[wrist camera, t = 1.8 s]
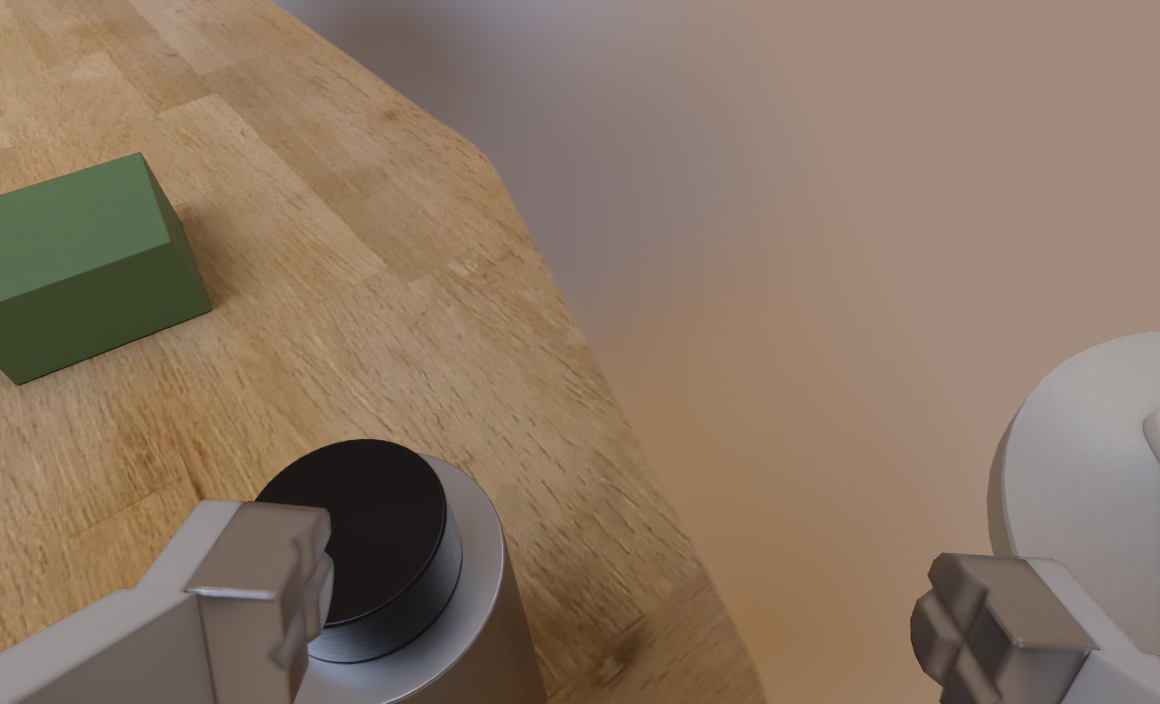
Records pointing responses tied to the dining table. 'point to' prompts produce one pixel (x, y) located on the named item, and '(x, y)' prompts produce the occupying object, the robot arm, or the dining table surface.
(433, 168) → the dining table surface
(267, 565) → the robot arm
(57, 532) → the dining table surface
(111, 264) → the green block
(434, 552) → the flask
